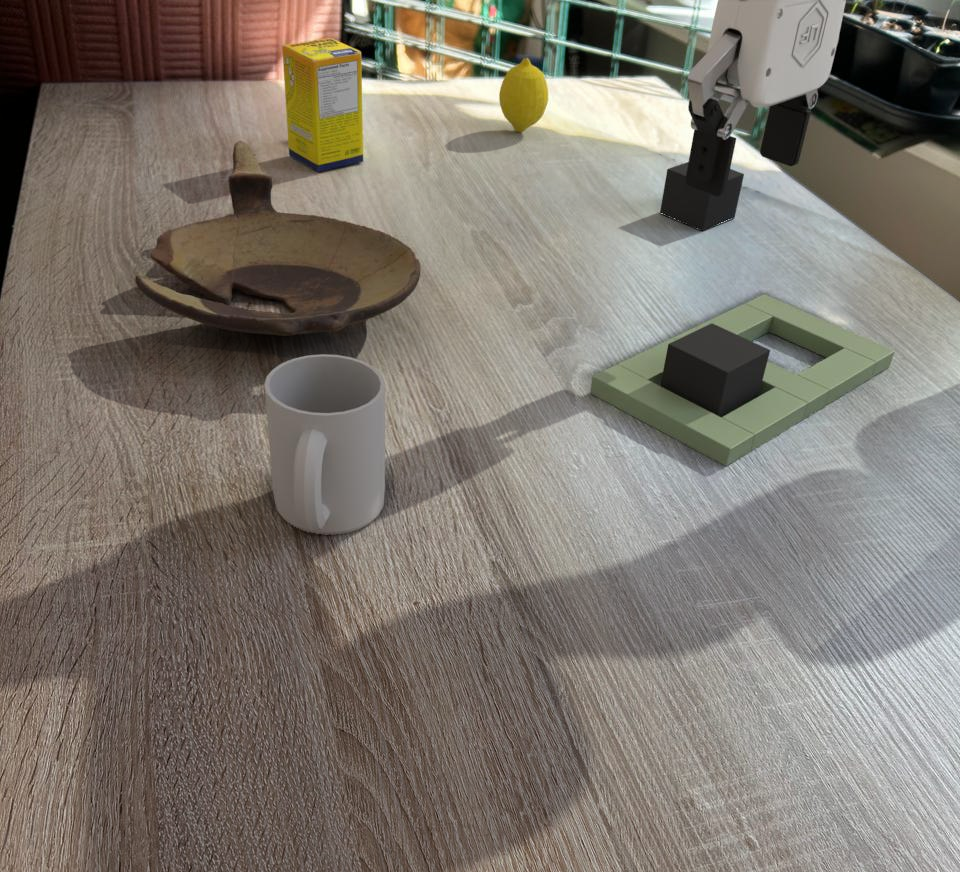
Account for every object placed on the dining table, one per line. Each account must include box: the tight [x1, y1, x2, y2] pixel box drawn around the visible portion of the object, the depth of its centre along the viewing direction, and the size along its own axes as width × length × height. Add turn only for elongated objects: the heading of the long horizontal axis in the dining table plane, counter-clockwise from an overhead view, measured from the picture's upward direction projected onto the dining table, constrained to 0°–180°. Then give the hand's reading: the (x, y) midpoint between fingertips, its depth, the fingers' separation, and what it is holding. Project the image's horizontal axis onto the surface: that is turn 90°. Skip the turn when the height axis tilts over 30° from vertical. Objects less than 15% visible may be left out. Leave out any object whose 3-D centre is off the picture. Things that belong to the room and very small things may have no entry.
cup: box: [264, 353, 386, 536], centre depth 68 cm, size 7×10×9 cm
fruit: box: [498, 56, 549, 133], centre depth 125 cm, size 6×6×8 cm
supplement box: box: [281, 37, 364, 173], centre depth 114 cm, size 6×6×11 cm
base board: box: [589, 293, 896, 467], centre depth 88 cm, size 23×13×2 cm, turn 135°
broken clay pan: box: [134, 140, 421, 337], centre depth 91 cm, size 22×30×8 cm
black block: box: [660, 323, 771, 418], centre depth 84 cm, size 6×6×4 cm
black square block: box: [659, 161, 745, 232], centre depth 111 cm, size 6×6×4 cm
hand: (742, 174), depth 82 cm, fingers open, 9 cm apart
